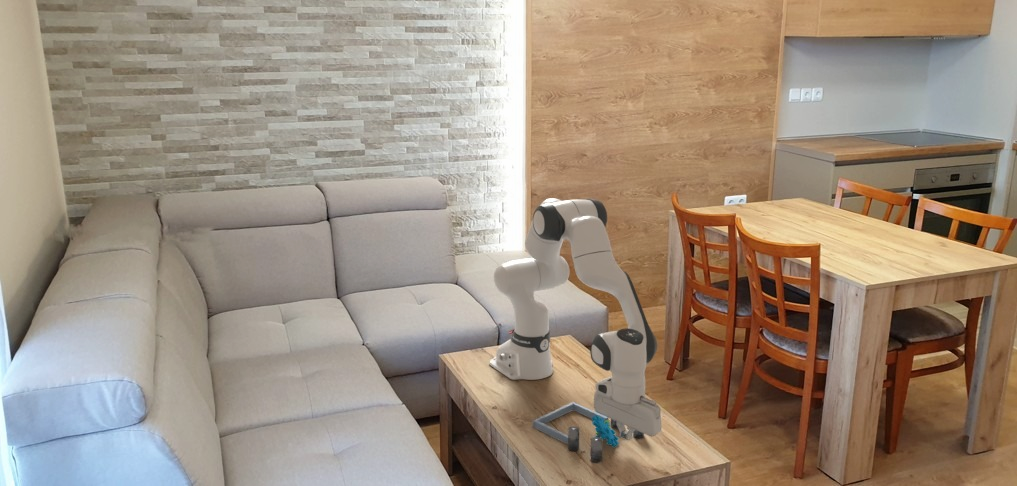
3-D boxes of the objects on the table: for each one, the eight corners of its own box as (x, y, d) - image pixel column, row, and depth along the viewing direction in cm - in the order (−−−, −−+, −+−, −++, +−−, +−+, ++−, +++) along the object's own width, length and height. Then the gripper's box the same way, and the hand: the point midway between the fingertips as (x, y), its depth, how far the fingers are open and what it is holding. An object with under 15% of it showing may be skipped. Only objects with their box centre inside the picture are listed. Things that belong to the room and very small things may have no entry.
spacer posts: (565, 448, 210) (565, 428, 208) (615, 422, 224) (615, 403, 222) (596, 464, 202) (597, 443, 201) (646, 436, 216) (647, 416, 215)
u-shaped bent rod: (532, 427, 221) (532, 420, 221) (572, 407, 233) (573, 401, 232) (567, 444, 212) (568, 437, 211) (608, 423, 223) (608, 417, 223)
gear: (618, 449, 206) (592, 420, 207) (601, 462, 208) (576, 433, 209) (623, 434, 217) (599, 407, 218) (607, 447, 218) (583, 420, 219)
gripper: (668, 400, 199) (665, 448, 202) (605, 375, 213) (604, 420, 217) (653, 408, 195) (650, 457, 198) (590, 382, 209) (589, 428, 213)
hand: (625, 438), depth 208 cm, fingers closed
